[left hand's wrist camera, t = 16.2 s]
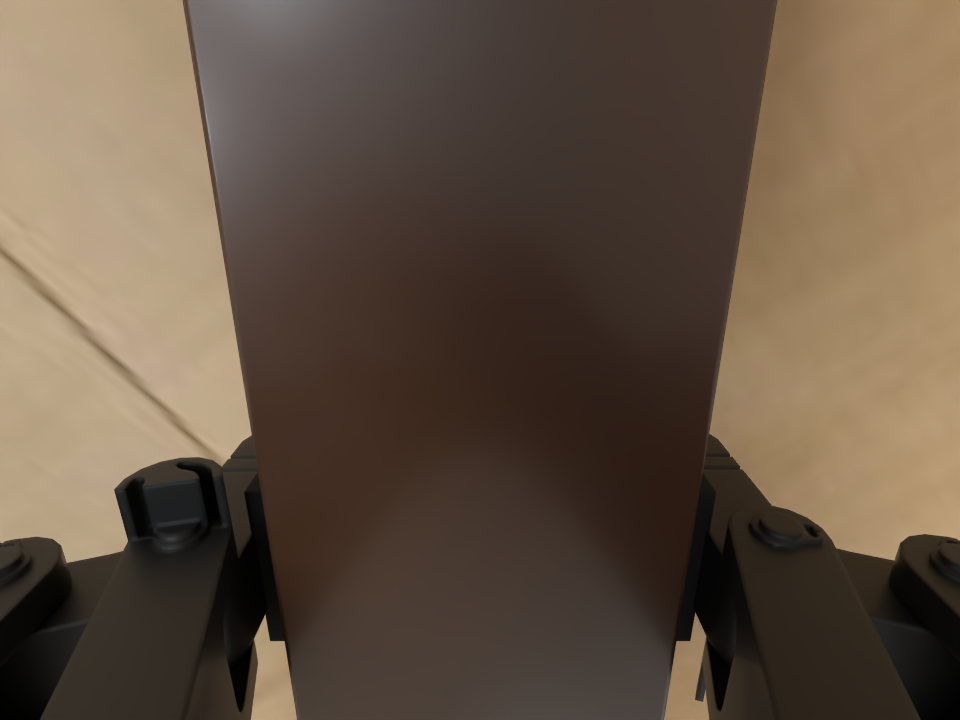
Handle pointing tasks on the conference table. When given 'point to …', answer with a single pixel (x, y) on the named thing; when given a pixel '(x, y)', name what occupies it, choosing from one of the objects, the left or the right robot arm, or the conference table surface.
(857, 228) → the conference table surface
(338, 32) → the beam
